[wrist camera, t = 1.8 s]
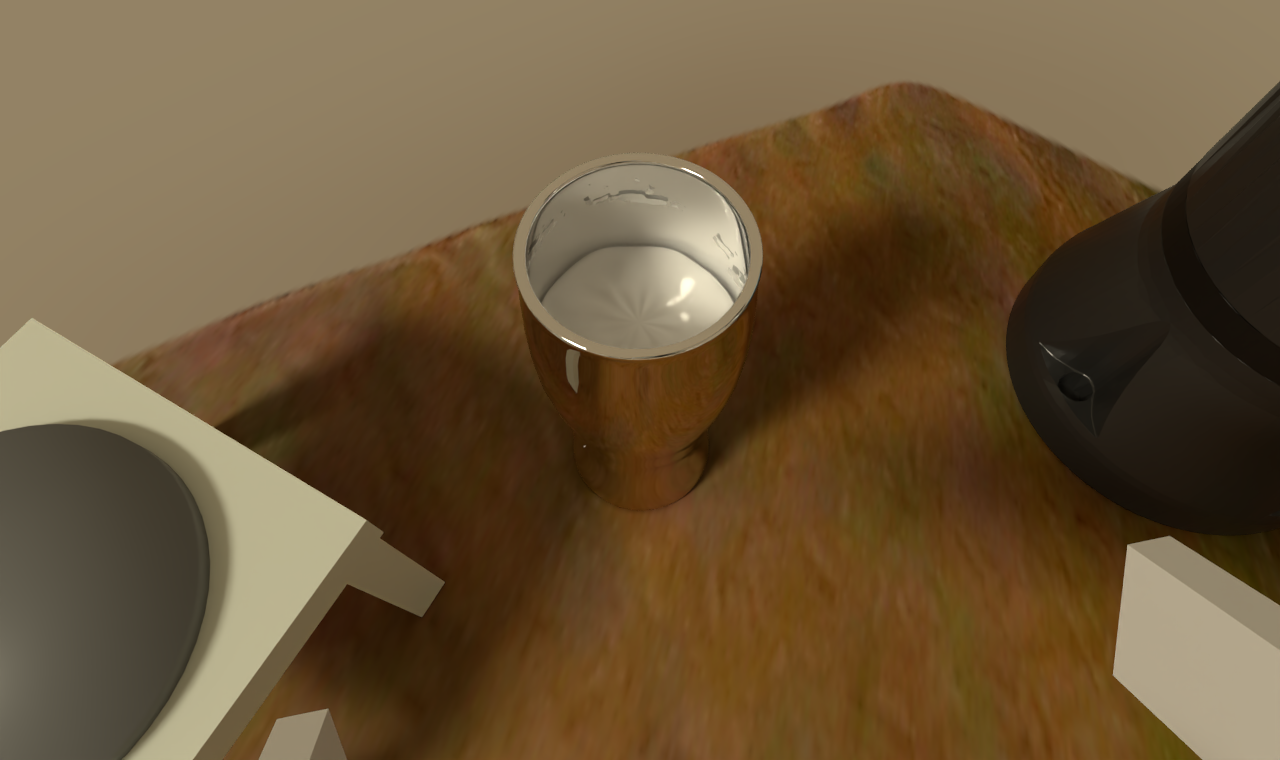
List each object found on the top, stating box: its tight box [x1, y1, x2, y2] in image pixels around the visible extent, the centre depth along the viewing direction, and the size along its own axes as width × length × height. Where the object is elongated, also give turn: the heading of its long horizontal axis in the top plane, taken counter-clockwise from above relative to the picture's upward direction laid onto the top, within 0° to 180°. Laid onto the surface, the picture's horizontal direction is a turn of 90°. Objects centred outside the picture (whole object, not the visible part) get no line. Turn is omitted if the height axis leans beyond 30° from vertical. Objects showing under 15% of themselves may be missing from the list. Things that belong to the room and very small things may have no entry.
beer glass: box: [513, 153, 763, 511], centre depth 25 cm, size 7×7×15 cm
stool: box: [0, 318, 445, 760], centre depth 24 cm, size 14×14×11 cm
